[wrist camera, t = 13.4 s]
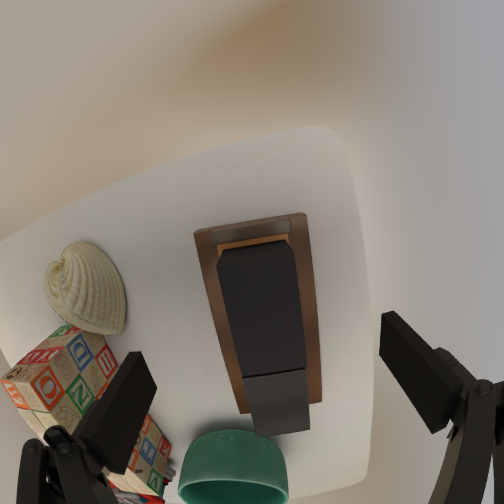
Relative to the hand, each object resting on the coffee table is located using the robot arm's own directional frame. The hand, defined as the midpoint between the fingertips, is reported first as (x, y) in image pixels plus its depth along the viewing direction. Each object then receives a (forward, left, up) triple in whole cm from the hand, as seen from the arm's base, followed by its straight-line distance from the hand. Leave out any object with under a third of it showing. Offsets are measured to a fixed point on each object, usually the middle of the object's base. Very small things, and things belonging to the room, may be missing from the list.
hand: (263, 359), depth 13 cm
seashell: (-2, -17, -11) cm, 20 cm away
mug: (+24, -7, -11) cm, 28 cm away
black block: (0, 0, -9) cm, 9 cm away
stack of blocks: (+12, -20, -11) cm, 26 cm away
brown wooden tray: (+4, 0, -11) cm, 12 cm away
